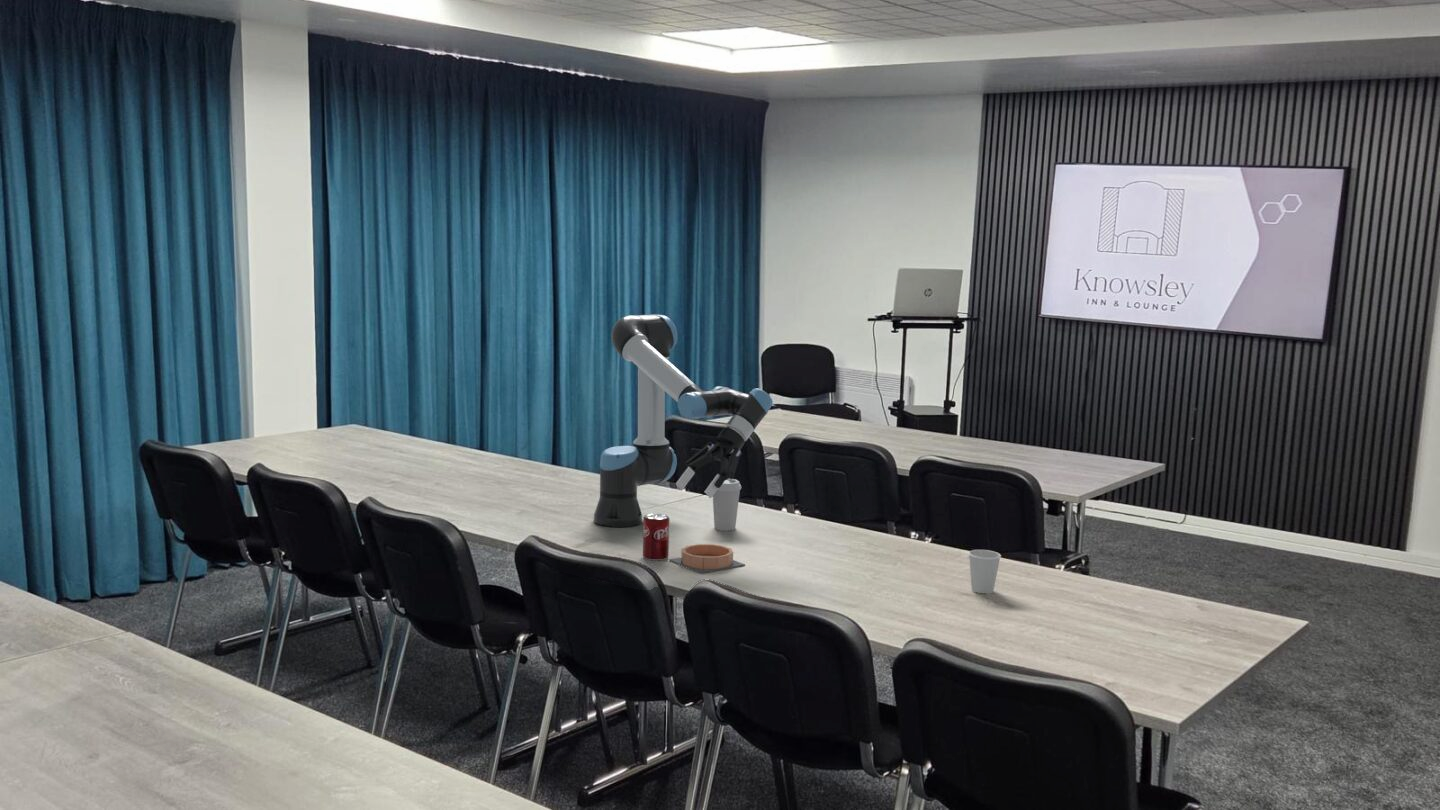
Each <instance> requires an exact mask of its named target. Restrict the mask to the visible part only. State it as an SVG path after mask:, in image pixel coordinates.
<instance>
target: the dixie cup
mask: <svg viewBox="0 0 1440 810" xmlns="http://www.w3.org/2000/svg"><path fill="white" fill-rule="evenodd" d="M968 557H969V570H970V572H969V574H970V585H971V586H970V587H971V588H970V589H972V590H971V591H972V592H973V591H974V593H976V592H978V593H977V594H980V593H986V594H985V595H989V594H990V593H991V594H993V593H994V590H995V586H996V580H997V575H998V571H999V565H1000V560H1001V559H1000V558H1002V554H1000V553H999V552H996V551H994V550H989V549H972V550H970V551H968Z"/></svg>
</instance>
